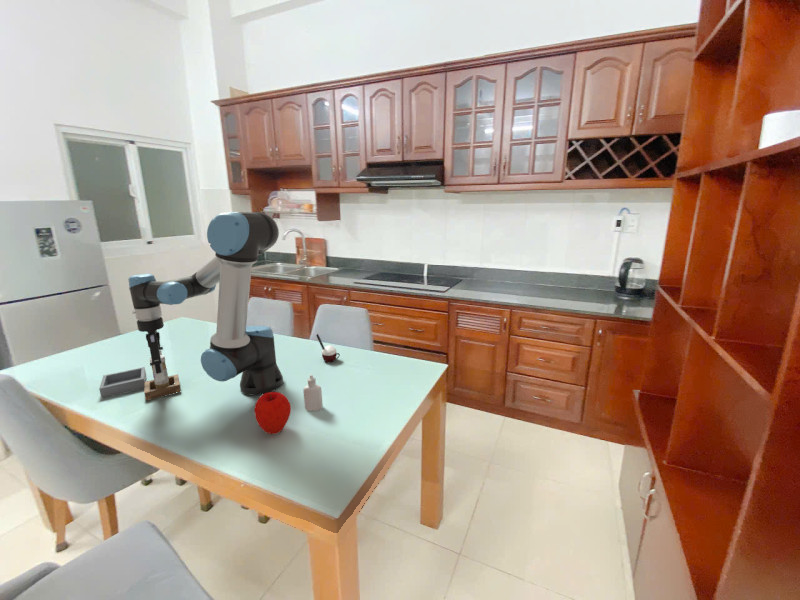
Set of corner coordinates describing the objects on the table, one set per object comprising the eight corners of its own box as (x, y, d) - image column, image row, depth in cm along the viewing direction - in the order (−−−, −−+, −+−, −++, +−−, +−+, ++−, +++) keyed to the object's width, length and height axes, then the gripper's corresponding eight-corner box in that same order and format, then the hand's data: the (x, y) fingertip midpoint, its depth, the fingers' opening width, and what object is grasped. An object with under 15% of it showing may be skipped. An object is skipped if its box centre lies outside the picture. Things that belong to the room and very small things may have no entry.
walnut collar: (181, 392, 130) (179, 384, 129) (145, 400, 124) (144, 393, 123) (179, 381, 138) (178, 374, 138) (146, 389, 132) (144, 381, 132)
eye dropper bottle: (312, 403, 120) (309, 370, 117) (324, 407, 117) (322, 374, 115) (303, 409, 117) (299, 375, 114) (315, 413, 114) (312, 379, 111)
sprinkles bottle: (153, 392, 130) (146, 358, 127) (165, 386, 134) (159, 353, 131) (161, 394, 128) (154, 360, 125) (173, 389, 132) (167, 355, 129)
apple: (296, 420, 110) (292, 384, 108) (287, 440, 101) (283, 401, 98) (263, 421, 110) (259, 386, 107) (252, 441, 101) (246, 402, 98)
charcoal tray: (145, 387, 133) (143, 378, 132) (101, 398, 126) (99, 388, 125) (146, 375, 144) (144, 366, 143) (105, 384, 137) (103, 375, 136)
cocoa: (341, 360, 156) (341, 334, 153) (332, 365, 151) (332, 338, 148) (324, 356, 160) (323, 330, 157) (315, 360, 155) (314, 334, 152)
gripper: (137, 312, 132) (148, 364, 137) (134, 329, 112) (147, 390, 117) (161, 309, 136) (170, 360, 142) (162, 324, 116) (173, 383, 121)
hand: (160, 373), depth 129 cm, fingers open, 13 cm apart
